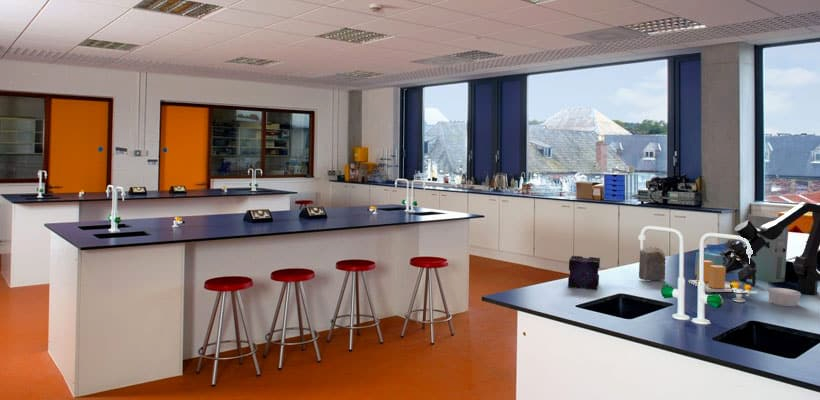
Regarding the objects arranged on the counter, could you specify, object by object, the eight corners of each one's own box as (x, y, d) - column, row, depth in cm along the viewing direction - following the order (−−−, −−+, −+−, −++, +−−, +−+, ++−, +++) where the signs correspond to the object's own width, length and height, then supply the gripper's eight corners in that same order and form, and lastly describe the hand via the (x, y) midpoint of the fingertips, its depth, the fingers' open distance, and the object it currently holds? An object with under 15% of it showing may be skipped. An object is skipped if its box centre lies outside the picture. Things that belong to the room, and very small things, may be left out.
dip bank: (725, 283, 282) (725, 280, 282) (748, 293, 263) (748, 290, 263) (688, 282, 282) (688, 279, 282) (708, 292, 263) (708, 289, 263)
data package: (721, 280, 289) (723, 255, 288) (714, 281, 287) (715, 255, 286) (701, 275, 300) (703, 251, 299) (694, 275, 298) (695, 251, 297)
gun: (744, 292, 290) (741, 271, 294) (760, 283, 275) (756, 261, 279) (738, 292, 290) (735, 271, 294) (753, 283, 276) (750, 261, 279)
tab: (707, 280, 280) (708, 260, 280) (711, 282, 277) (713, 262, 276) (696, 279, 281) (697, 260, 280) (700, 281, 277) (701, 261, 276)
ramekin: (796, 309, 239) (797, 295, 238) (764, 303, 246) (765, 290, 246) (802, 304, 247) (803, 291, 247) (770, 299, 255) (771, 286, 254)
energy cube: (567, 287, 267) (569, 259, 266) (570, 282, 278) (572, 255, 277) (596, 290, 263) (598, 262, 262) (598, 284, 274) (599, 257, 273)
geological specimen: (646, 282, 281) (647, 249, 280) (637, 279, 287) (638, 247, 285) (665, 281, 284) (667, 248, 283) (656, 278, 290) (657, 246, 289)
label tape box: (707, 269, 317) (708, 245, 316) (704, 267, 321) (706, 244, 320) (725, 270, 315) (727, 246, 314) (723, 268, 319) (724, 244, 318)
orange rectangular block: (719, 286, 269) (721, 265, 268) (724, 288, 265) (725, 267, 264) (708, 285, 269) (709, 265, 268) (712, 287, 265) (714, 267, 264)
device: (784, 282, 289) (789, 218, 286) (771, 282, 287) (776, 218, 284) (756, 274, 305) (760, 214, 302) (743, 275, 303) (747, 214, 300)
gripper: (727, 231, 274) (701, 255, 275) (750, 237, 255) (722, 263, 256) (744, 249, 275) (717, 273, 276) (768, 256, 256) (739, 282, 257)
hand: (723, 272), depth 266 cm, fingers closed
